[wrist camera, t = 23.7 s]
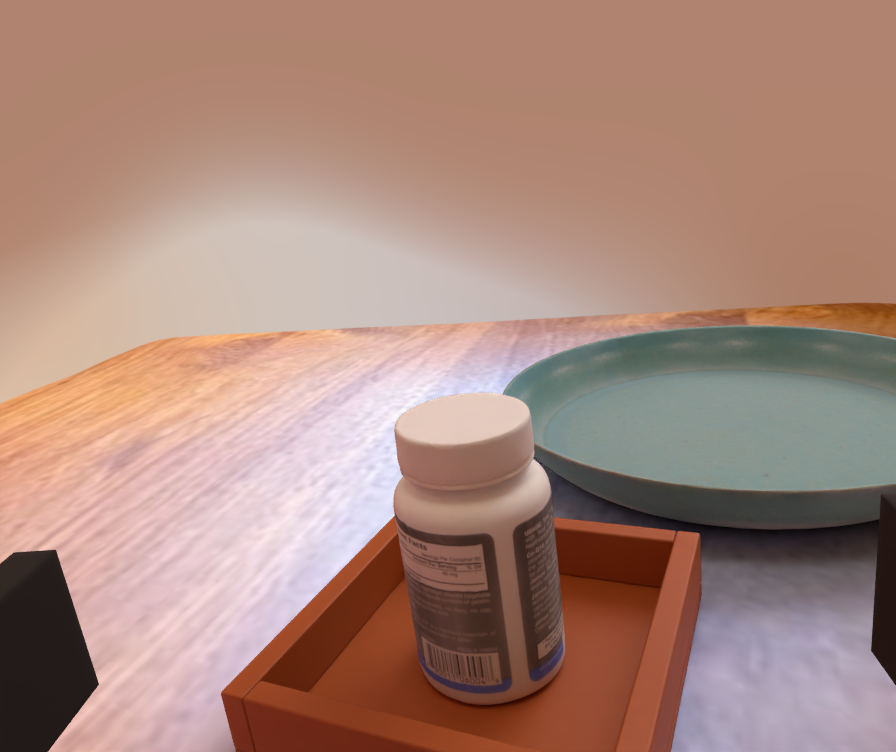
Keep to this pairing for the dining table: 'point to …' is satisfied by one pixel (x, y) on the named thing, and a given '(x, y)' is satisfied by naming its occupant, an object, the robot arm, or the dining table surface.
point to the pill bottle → (478, 548)
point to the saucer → (723, 423)
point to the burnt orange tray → (471, 725)
